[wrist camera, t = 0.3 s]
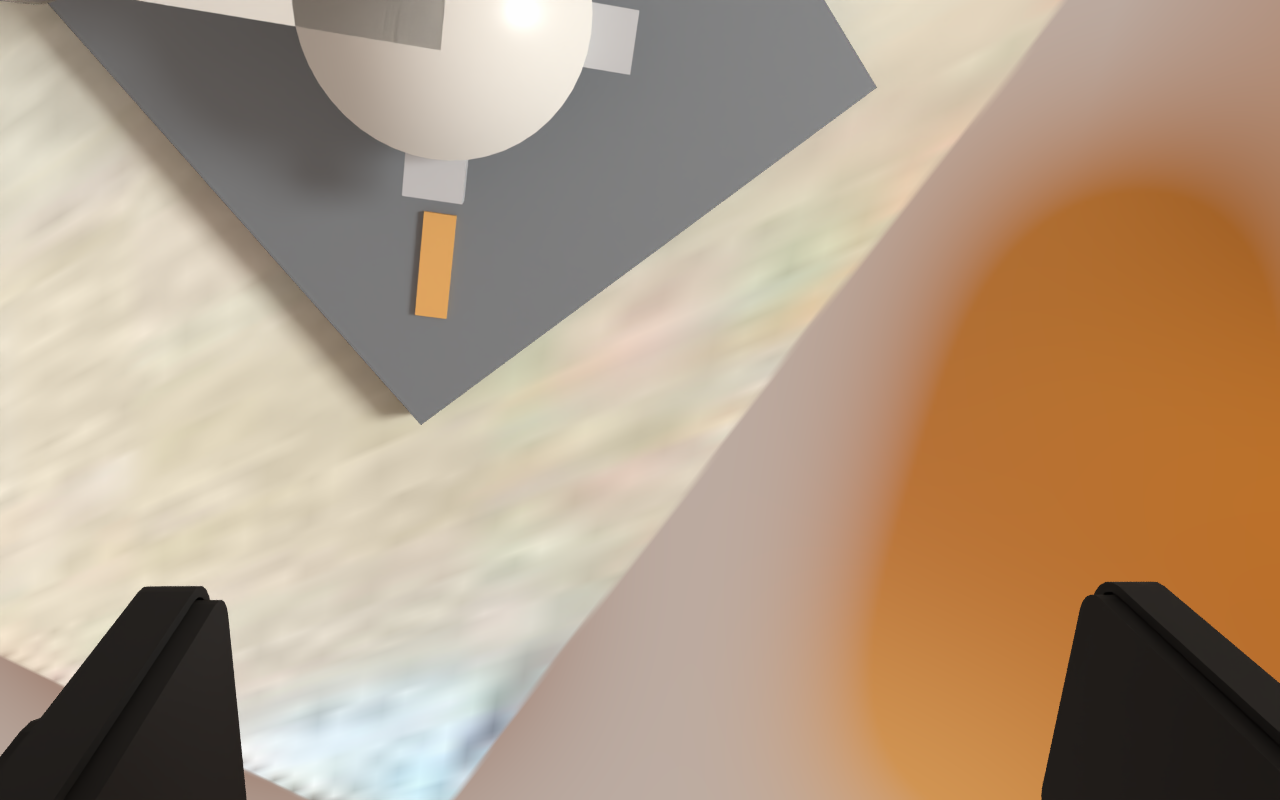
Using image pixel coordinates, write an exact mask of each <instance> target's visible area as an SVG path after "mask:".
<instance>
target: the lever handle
mask: <svg viewBox="0 0 1280 800" xmlns="http://www.w3.org/2000/svg"><path fill="white" fill-rule="evenodd" d="M0 1H6V2H15V3H24V4H45V3H51V2H54V1H57V0H0ZM138 1H145V2H151V3H157V4H163V5H169V6H175V7H181V8H187V9H193V10H199V11H205V12H211V13H217V14H223V15H229V16H236V17H242V18H248V19H254V20H260V21H266V22H272V23H278V24H284V25H290V26H296V30H297V34H298V37H299V41H300V45H301V47H302V50H303V52H304V55H305V57H306V60H307V62H308V65H309V67H310V68H311V70H312V72H313V74H314V76H315V78H316V79H317V81H318V83H319V84H320V86H321V87H322V89H323V90H324V91H325V93H326V94H327V96H328V97H329V98H330V100H331V101H332V102H333V103H334V104H335V105H336V106H337V108H338V109H339V110H340V111H341V112H342V113H343V114H344V115H345V116H346V117H347V118H348V119H349V120H351V121H352V122H353V123H354V124H355V125H356V126H358V127H359V128H360V129H361V130H363V131H364V132H366V133H367V134H369V135H370V136H372V137H373V138H375V139H376V140H378V141H380V142H382V143H384V144H386V145H388V146H390V147H392V148H394V149H397V150H400V151H402V152H405V163H404V175H403V188H402V196H407V197H414V198H421V199H428V200H435V201H442V202H449V203H455V204H462V203H463V202H464V198H465V188H466V178H467V169H468V160H470V159H475V158H481V157H486V156H489V155H492V154H496V153H499V152H502V151H504V150H507V149H509V148H511V147H513V146H515V145H517V144H519V143H521V142H522V141H524V140H525V139H527V138H528V137H530V136H531V135H533V134H534V133H536V132H537V131H538V130H539V129H540V128H541V127H543V126H544V125H545V124H546V123H547V122H548V121H549V120H550V119H551V118H552V117H553V116H554V115H555V114H556V112H557V111H558V110H559V109H560V108H561V107H562V105H563V104H564V102H565V101H566V99H567V98H568V96H569V95H570V93H571V92H572V90H573V88H574V86H575V84H576V82H577V80H578V78H579V76H580V73H581V71H582V68H583V67H586V68H592V69H598V70H604V71H610V72H616V73H622V74H628V75H630V72H631V65H632V58H633V51H634V45H635V38H636V31H637V24H638V17H639V10H634V9H628V8H623V7H617V6H611V5H606V4H600V3H594V2H592V0H138Z"/></svg>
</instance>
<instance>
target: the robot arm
mask: <svg viewBox="0 0 1280 800" xmlns="http://www.w3.org/2000/svg"><path fill="white" fill-rule="evenodd" d="M1041 797H1042V800H1280V683H1279V682H1277V681H1276V680H1275V679H1274V678H1273V677H1271V676H1270V675H1269V674H1268V673H1267V672H1265V671H1264V670H1263V669H1262V668H1261V667H1260V666H1258V665H1257V664H1256V663H1255V662H1254V661H1252V660H1251V659H1250V658H1249V657H1248V656H1246V655H1245V654H1244V653H1243V652H1242V651H1241V650H1239V649H1238V648H1237V647H1235V645H1233V644H1232V643H1231V642H1230V641H1229V640H1228V639H1226V638H1225V637H1224V636H1223V635H1222V634H1220V633H1219V632H1218V631H1217V630H1216V629H1214V628H1213V627H1212V626H1211V625H1210V624H1209V623H1207V622H1206V621H1205V620H1203V618H1201V617H1200V616H1199V615H1198V614H1197V613H1195V612H1194V611H1193V610H1192V609H1191V608H1189V607H1188V606H1187V605H1186V604H1185V603H1183V602H1182V601H1181V600H1180V599H1179V598H1178V597H1176V596H1175V595H1174V594H1173V593H1172V592H1170V591H1169V590H1168V589H1167V588H1166V587H1165V586H1163V585H1161V584H1159V583H1158V582H1105V583H1103V584H1101V585H1100V586H1099V587H1098V589H1097V590H1096V591H1095V593H1094V595H1089V596H1087V597H1086V598H1085V599H1084V600H1083V602H1082V605H1081V608H1080V612H1079V616H1078V621H1077V626H1076V630H1075V635H1074V640H1073V645H1072V649H1071V654H1070V659H1069V663H1068V668H1067V673H1066V678H1065V682H1064V687H1063V692H1062V696H1061V701H1060V706H1059V711H1058V715H1057V720H1056V725H1055V729H1054V735H1053V739H1052V744H1051V748H1050V753H1049V758H1048V763H1047V768H1046V772H1045V777H1044V781H1043V786H1042V795H1041ZM0 800H246V789H245V779H244V769H243V759H242V749H241V739H240V729H239V719H238V709H237V699H236V689H235V679H234V669H233V659H232V649H231V639H230V629H229V619H228V612H227V607H226V605H225V602H224V601H222V600H210V598H209V595H208V593H207V590H206V589H205V588H204V587H203V586H155V587H143V588H142V589H141V590H140V591H139V592H138V593H137V594H136V596H135V597H134V598H133V600H132V601H131V602H130V603H129V605H128V606H127V607H126V609H125V610H124V611H123V612H122V614H121V615H120V616H119V618H118V619H117V620H116V621H115V623H114V624H113V625H112V627H111V628H110V629H109V630H108V632H107V633H106V634H105V636H104V637H103V638H102V639H101V641H100V642H99V643H98V645H97V646H96V647H95V649H94V650H93V651H92V652H91V654H90V655H89V656H88V658H87V659H86V660H85V661H84V663H83V664H82V665H81V667H80V668H79V669H78V670H77V672H76V673H75V674H74V676H73V677H72V678H71V679H70V681H69V682H68V683H67V685H66V686H65V687H64V688H63V690H62V691H61V692H60V694H59V695H58V696H57V698H56V699H55V700H54V701H53V703H52V704H51V705H50V707H49V708H48V709H47V710H46V712H45V713H44V714H43V716H42V717H41V718H39V719H36V720H33V721H31V722H30V723H29V724H28V725H27V726H26V727H25V728H23V729H22V730H21V731H20V732H19V734H18V735H17V736H16V737H15V739H14V740H13V741H12V743H11V744H10V745H9V746H8V748H7V749H6V750H5V752H4V753H3V754H2V755H1V756H0Z"/></svg>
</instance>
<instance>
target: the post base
mask: <svg viewBox="0 0 1280 800" xmlns="http://www.w3.org/2000/svg"><path fill="white" fill-rule="evenodd" d="M592 2H594V3H600V4H606V5H611V6H617V7H623V8H628V9H634V10H639V17H638V24H637V31H636V38H635V45H634V51H633V58H632V65H631V72H630V75H628V74H622V73H616V72H610V71H604V70H598V69H592V68H586V67H583V68H582V71H581V73H580V76H579V78H578V80H577V82H576V84H575V86H574V88H573V90H572V92H571V93H570V95H569V96H568V98H567V99H566V101H565V102H564V104H563V105H562V107H561V108H560V109H559V110H558V111H557V112H556V114H555V115H554V116H553V117H552V118H551V119H550V120H549V121H548V122H547V123H546V124H545V125H544V126H543V127H541V128H540V129H539V130H538V131H537V132H536V133H534V134H533V135H531V136H530V137H528V138H527V139H525V140H524V141H522V142H521V143H519V144H517V145H515V146H513V147H511V148H509V149H507V150H504V151H502V152H499V153H496V154H492V155H489V156H486V157H481V158H475V159H470V160H468V169H467V178H466V188H465V198H464V202H463V203H462V204H455V203H449V202H442V201H435V200H428V199H421V198H414V197H407V196H402V188H403V175H404V163H405V152H402V151H400V150H397V149H394V148H392V147H390V146H388V145H386V144H384V143H382V142H380V141H378V140H376V139H375V138H373V137H372V136H370V135H369V134H367V133H366V132H364V131H363V130H361V129H360V128H359V127H358V126H356V125H355V124H354V123H353V122H352V121H351V120H349V119H348V118H347V117H346V116H345V115H344V114H343V113H342V112H341V111H340V110H339V109H338V108H337V106H336V105H335V104H334V103H333V102H332V101H331V100H330V98H329V97H328V96H327V94H326V93H325V91H324V90H323V89H322V87H321V86H320V84H319V83H318V81H317V79H316V78H315V76H314V74H313V72H312V70H311V68H310V67H309V65H308V62H307V60H306V57H305V55H304V52H303V50H302V47H301V45H300V41H299V37H298V34H297V30H296V26H290V25H284V24H278V23H272V22H266V21H260V20H254V19H248V18H242V17H236V16H229V15H223V14H217V13H211V12H205V11H199V10H193V9H187V8H181V7H175V6H169V5H163V4H157V3H151V2H145V1H138V0H57V1H54V2H51V3H48V4H49V5H50V6H51V8H52V9H53V10H54V11H55V12H56V13H57V14H58V15H59V17H60V18H61V19H62V20H63V21H64V22H65V23H66V24H67V26H68V27H69V28H70V29H71V30H72V31H73V32H74V34H75V35H76V36H77V37H78V38H79V39H80V40H81V41H82V43H83V44H84V45H85V46H86V47H87V48H88V49H89V50H90V52H91V53H92V54H93V55H94V56H95V57H96V58H97V59H98V61H99V62H100V63H101V64H102V65H103V66H104V67H105V69H106V70H107V71H108V72H109V73H110V74H111V75H112V76H113V78H114V79H115V80H116V81H117V82H118V83H119V84H120V85H121V87H122V88H123V89H124V90H125V91H126V92H127V93H128V95H129V96H130V97H131V98H132V99H133V100H134V101H135V102H136V104H137V105H138V106H139V107H140V108H141V109H142V110H143V111H144V113H145V114H146V115H147V116H148V117H149V118H150V119H151V120H152V122H153V123H154V124H155V125H156V126H157V127H158V128H159V130H160V131H161V132H162V133H163V134H164V135H165V136H166V137H167V139H168V140H169V141H170V142H171V143H172V144H173V145H174V146H175V148H176V149H177V150H178V151H179V152H180V153H181V154H182V156H183V157H184V158H185V159H186V160H187V161H188V162H189V163H190V165H191V166H192V167H193V168H194V169H195V170H196V171H197V172H198V174H199V175H200V176H201V177H202V178H203V179H204V180H205V182H206V183H207V184H208V185H209V186H210V187H211V188H212V189H213V191H214V192H215V193H216V194H217V195H218V196H219V197H220V198H221V200H222V201H223V202H224V203H225V204H226V205H227V206H228V207H229V209H230V210H231V211H232V212H233V213H234V214H235V215H236V217H237V218H238V219H239V220H240V221H241V222H242V223H243V224H244V226H245V227H246V228H247V229H248V230H249V231H250V232H251V233H252V235H253V236H254V237H255V238H256V239H257V240H258V241H259V243H260V244H261V245H262V246H263V247H264V248H265V249H266V250H267V252H268V253H269V254H270V255H271V256H272V257H273V258H274V259H275V261H276V262H277V263H278V264H279V265H280V266H281V267H282V269H283V270H284V271H285V272H286V273H287V274H288V275H289V276H290V278H291V279H292V280H293V281H294V282H295V283H296V284H297V285H298V287H299V288H300V289H301V290H302V291H303V292H304V293H305V294H306V296H307V297H308V298H309V299H310V300H311V301H312V302H313V304H314V305H315V306H316V307H317V308H318V309H319V310H320V311H321V313H322V314H323V315H324V316H325V317H326V318H327V319H328V320H329V322H330V323H331V324H332V325H333V326H334V327H335V328H336V330H337V331H338V332H339V333H340V334H341V335H342V336H343V337H344V339H345V340H346V341H347V342H348V343H349V344H350V345H351V346H352V348H353V349H354V350H355V351H356V352H357V353H358V354H359V355H360V357H361V358H362V359H363V360H364V361H365V362H366V363H367V365H368V366H369V367H370V368H371V369H372V370H373V371H374V372H375V374H376V375H377V376H378V377H379V378H380V379H381V380H382V381H383V383H384V384H385V385H386V386H387V387H388V388H389V389H390V391H391V392H392V393H393V394H394V395H395V396H396V397H397V398H398V400H399V401H400V402H401V403H402V404H403V405H404V406H405V407H406V409H407V410H408V411H409V412H410V413H411V414H412V415H413V417H414V418H415V419H416V420H417V421H418V422H419V423H420V424H421V425H422V424H423V423H424V422H426V421H427V420H428V419H430V418H431V417H432V416H434V415H435V414H436V413H438V412H439V411H440V410H442V409H443V408H445V407H446V406H447V405H449V404H450V403H451V402H453V401H454V400H455V399H457V398H458V397H459V396H461V395H462V394H463V393H465V392H466V391H467V390H469V389H470V388H472V387H473V386H474V385H476V384H477V383H478V382H480V381H481V380H482V379H484V378H485V377H486V376H488V375H489V374H490V373H492V372H493V371H495V370H496V369H497V368H499V367H500V366H501V365H503V364H504V363H505V362H507V361H508V360H509V359H511V358H512V357H513V356H515V355H516V354H517V353H519V352H520V351H522V350H523V349H524V348H526V347H527V346H528V345H530V344H531V343H532V342H534V341H535V340H536V339H538V338H539V337H540V336H542V335H543V334H544V333H546V332H547V331H549V330H550V329H551V328H553V327H554V326H555V325H557V324H558V323H559V322H561V321H562V320H563V319H565V318H566V317H567V316H569V315H570V314H571V313H573V312H574V311H576V310H577V309H578V308H580V307H581V306H582V305H584V304H585V303H586V302H588V301H589V300H590V299H592V298H593V297H594V296H596V295H597V294H598V293H600V292H601V291H603V290H604V289H605V288H607V287H608V286H609V285H611V284H612V283H613V282H615V281H616V280H617V279H619V278H620V277H621V276H623V275H624V274H625V273H627V272H628V271H630V270H631V269H632V268H634V267H635V266H636V265H638V264H639V263H640V262H642V261H643V260H644V259H646V258H647V257H648V256H650V255H651V254H652V253H654V252H655V251H657V250H658V249H659V248H661V247H662V246H663V245H665V244H666V243H667V242H669V241H670V240H671V239H673V238H674V237H675V236H677V235H678V234H680V233H681V232H682V231H684V230H685V229H686V228H688V227H689V226H690V225H692V224H693V223H694V222H696V221H697V220H698V219H700V218H701V217H702V216H704V215H705V214H707V213H708V212H709V211H711V210H712V209H713V208H715V207H716V206H717V205H719V204H720V203H721V202H723V201H724V200H725V199H727V198H728V197H729V196H731V195H732V194H734V193H735V192H736V191H738V190H739V189H740V188H742V187H743V186H744V185H746V184H747V183H748V182H750V181H751V180H752V179H754V178H755V177H756V176H758V175H759V174H761V173H762V172H763V171H765V170H766V169H767V168H769V167H770V166H771V165H773V164H774V163H775V162H777V161H778V160H779V159H781V158H782V157H783V156H785V155H786V154H788V153H789V152H790V151H792V150H793V149H794V148H796V147H797V146H798V145H800V144H801V143H802V142H804V141H805V140H806V139H808V138H809V137H810V136H812V135H813V134H815V133H816V132H817V131H819V130H820V129H821V128H823V127H824V126H825V125H827V124H828V123H829V122H831V121H832V120H833V119H835V118H836V117H837V116H839V115H840V114H842V113H843V112H844V111H846V110H847V109H848V108H850V107H851V106H852V105H854V104H855V103H856V102H858V101H859V100H860V99H862V98H863V97H865V96H866V95H867V94H869V93H870V92H871V91H873V90H874V89H875V88H877V87H876V85H875V84H874V82H873V80H872V79H871V77H870V75H869V74H868V72H867V70H866V69H865V67H864V65H863V64H862V62H861V60H860V59H859V57H858V55H857V54H856V52H855V50H854V49H853V47H852V45H851V44H850V42H849V40H848V39H847V37H846V36H845V34H844V32H843V31H842V29H841V27H840V26H839V24H838V22H837V21H836V19H835V17H834V16H833V14H832V12H831V11H830V9H829V7H828V6H827V4H826V2H825V1H824V0H592Z"/></svg>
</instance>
